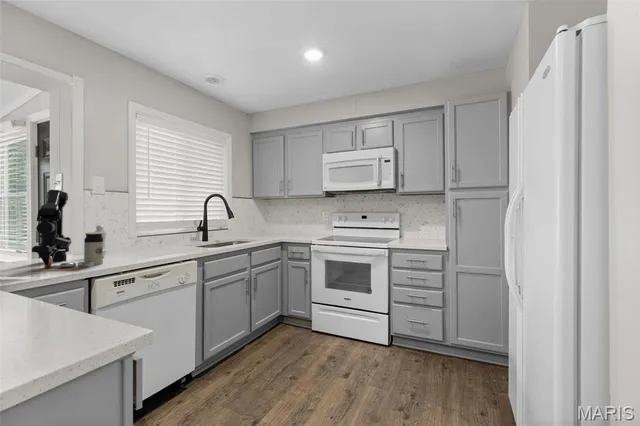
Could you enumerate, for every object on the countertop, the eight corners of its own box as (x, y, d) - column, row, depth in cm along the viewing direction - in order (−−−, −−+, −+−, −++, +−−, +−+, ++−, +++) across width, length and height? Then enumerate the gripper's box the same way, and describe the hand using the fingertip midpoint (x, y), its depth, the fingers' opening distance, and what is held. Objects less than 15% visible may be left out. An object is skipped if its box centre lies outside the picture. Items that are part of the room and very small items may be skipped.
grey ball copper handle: (77, 265, 155) (78, 254, 155) (72, 267, 150) (73, 256, 150) (47, 266, 151) (48, 255, 151) (41, 268, 146) (41, 257, 146)
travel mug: (80, 266, 160) (81, 232, 160) (97, 264, 167) (98, 232, 167) (88, 268, 156) (89, 233, 156) (105, 266, 163) (106, 232, 163)
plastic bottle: (108, 257, 195) (108, 225, 195) (96, 258, 188) (97, 226, 188) (102, 256, 197) (102, 225, 197) (90, 257, 191) (91, 225, 191)
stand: (27, 274, 140) (27, 266, 140) (49, 268, 154) (49, 261, 154) (77, 273, 143) (77, 266, 143) (94, 268, 157) (94, 261, 157)
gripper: (61, 234, 143) (61, 267, 143) (76, 231, 160) (75, 260, 161) (31, 234, 139) (30, 268, 139) (49, 231, 156) (49, 261, 156)
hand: (48, 264), depth 149 cm, fingers closed on grey ball copper handle, 3 cm apart
